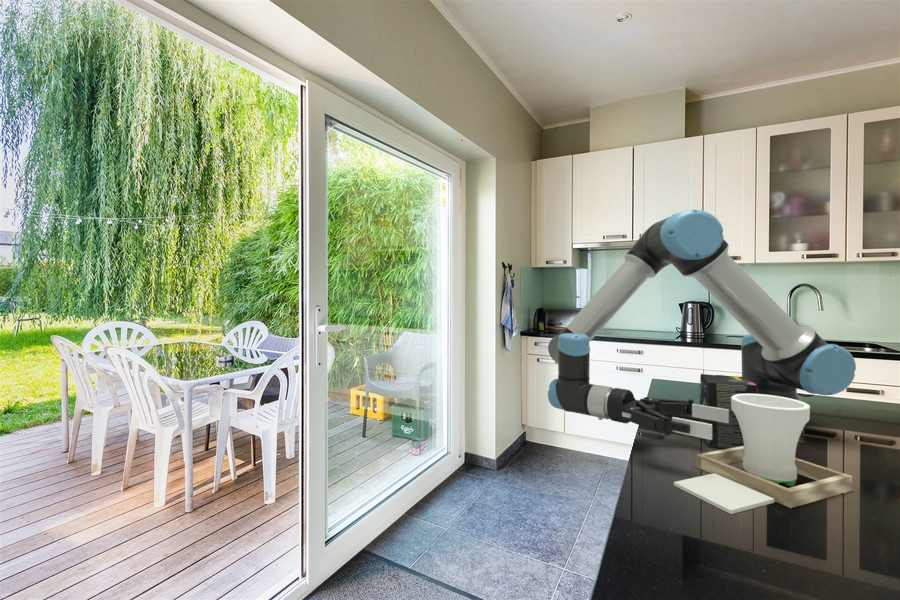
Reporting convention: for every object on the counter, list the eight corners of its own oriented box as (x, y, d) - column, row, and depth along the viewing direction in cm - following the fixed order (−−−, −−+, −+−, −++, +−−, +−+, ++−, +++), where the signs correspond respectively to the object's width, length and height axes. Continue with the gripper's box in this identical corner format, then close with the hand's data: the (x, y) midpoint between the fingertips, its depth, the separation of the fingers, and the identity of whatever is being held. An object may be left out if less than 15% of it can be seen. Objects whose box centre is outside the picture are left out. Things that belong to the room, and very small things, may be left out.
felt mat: (714, 476, 73) (714, 473, 73) (774, 502, 64) (774, 498, 64) (673, 485, 70) (673, 482, 70) (730, 514, 60) (730, 510, 60)
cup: (718, 465, 78) (717, 393, 78) (776, 465, 78) (775, 393, 78) (760, 493, 67) (760, 409, 67) (829, 493, 66) (828, 409, 66)
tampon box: (759, 454, 83) (759, 384, 83) (708, 448, 87) (707, 381, 87) (745, 437, 93) (745, 375, 93) (699, 432, 97) (699, 372, 97)
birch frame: (752, 456, 82) (752, 444, 82) (852, 490, 67) (852, 476, 67) (696, 467, 77) (696, 454, 77) (790, 508, 62) (790, 492, 62)
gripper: (633, 409, 101) (734, 428, 86) (587, 432, 84) (703, 461, 68) (633, 379, 101) (734, 393, 86) (586, 397, 84) (703, 418, 68)
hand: (720, 423), depth 77 cm, fingers open, 13 cm apart
